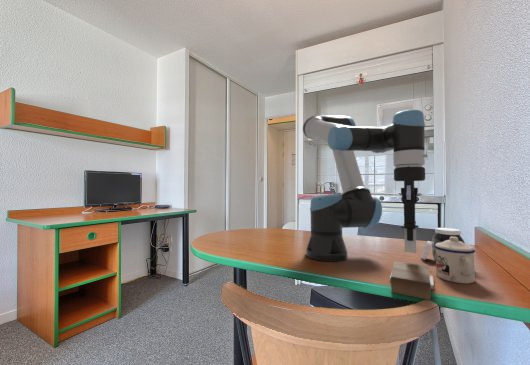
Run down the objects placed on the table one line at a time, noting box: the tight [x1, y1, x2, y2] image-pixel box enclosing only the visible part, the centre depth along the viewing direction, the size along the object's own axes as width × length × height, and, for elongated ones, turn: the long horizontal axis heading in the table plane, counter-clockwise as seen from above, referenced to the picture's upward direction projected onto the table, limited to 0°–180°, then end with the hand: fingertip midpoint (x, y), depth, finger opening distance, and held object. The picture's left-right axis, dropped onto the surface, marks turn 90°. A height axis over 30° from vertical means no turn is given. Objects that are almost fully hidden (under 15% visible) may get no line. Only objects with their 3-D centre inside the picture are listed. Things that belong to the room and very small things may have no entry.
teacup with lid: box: [435, 237, 476, 285], centre depth 68 cm, size 12×9×12 cm
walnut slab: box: [390, 260, 432, 301], centre depth 62 cm, size 4×8×10 cm
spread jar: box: [420, 227, 466, 263], centre depth 84 cm, size 12×11×12 cm
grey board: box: [389, 272, 435, 290], centre depth 68 cm, size 10×8×1 cm
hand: (410, 251), depth 67 cm, fingers closed
